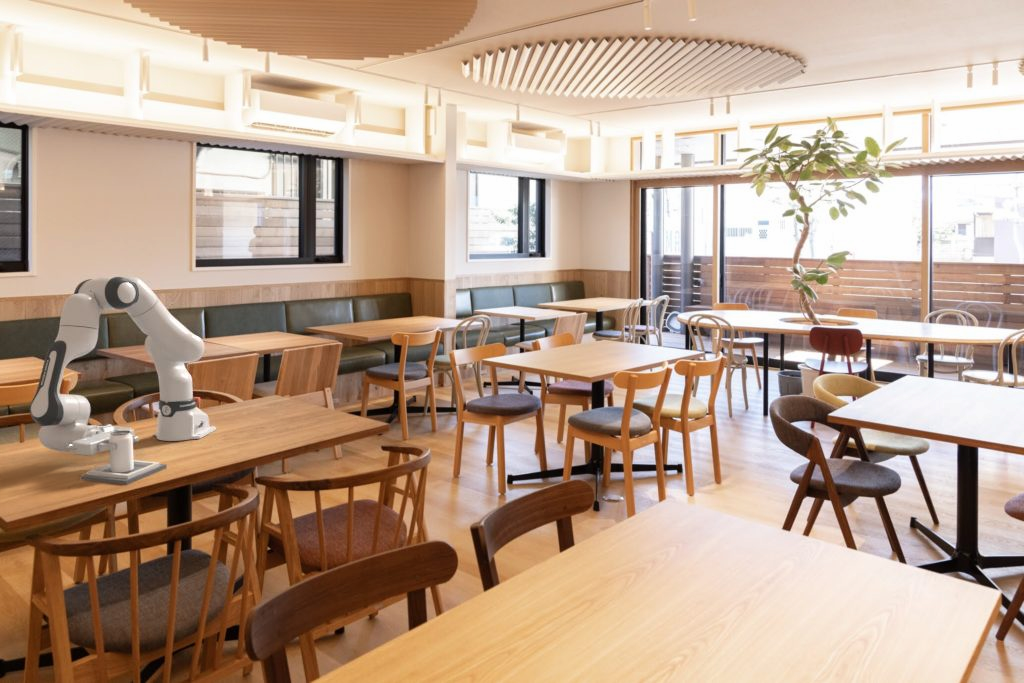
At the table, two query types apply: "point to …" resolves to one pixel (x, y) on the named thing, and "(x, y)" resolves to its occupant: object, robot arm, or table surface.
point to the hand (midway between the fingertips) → (126, 443)
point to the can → (121, 452)
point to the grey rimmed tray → (137, 473)
